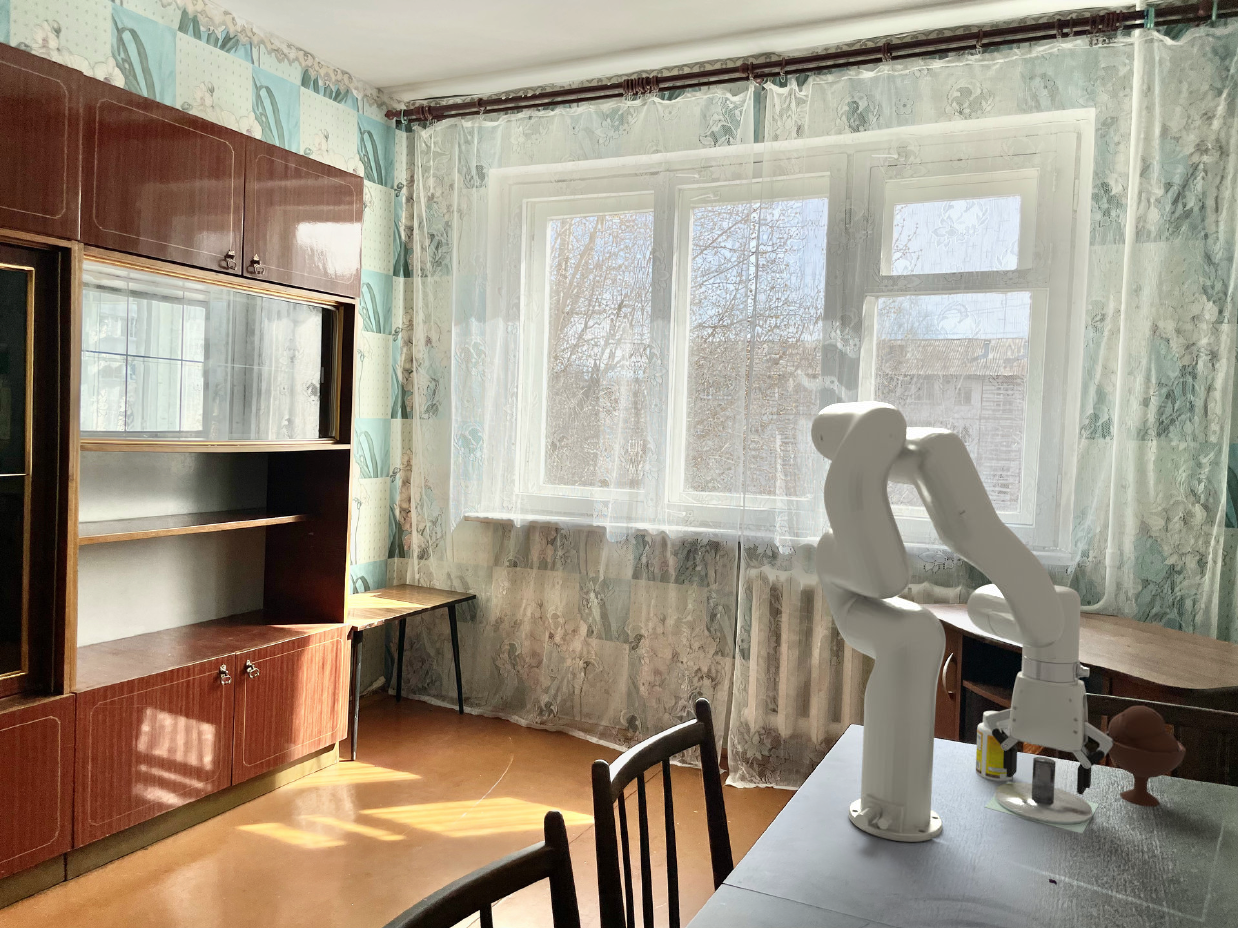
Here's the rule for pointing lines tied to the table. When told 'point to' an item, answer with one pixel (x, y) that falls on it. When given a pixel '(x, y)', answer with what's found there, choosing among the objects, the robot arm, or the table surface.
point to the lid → (1043, 798)
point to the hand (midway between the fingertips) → (1045, 782)
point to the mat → (1075, 828)
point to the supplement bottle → (990, 751)
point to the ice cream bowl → (1143, 750)
